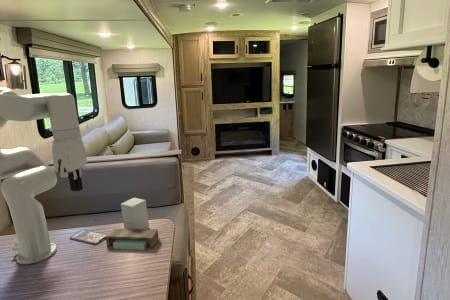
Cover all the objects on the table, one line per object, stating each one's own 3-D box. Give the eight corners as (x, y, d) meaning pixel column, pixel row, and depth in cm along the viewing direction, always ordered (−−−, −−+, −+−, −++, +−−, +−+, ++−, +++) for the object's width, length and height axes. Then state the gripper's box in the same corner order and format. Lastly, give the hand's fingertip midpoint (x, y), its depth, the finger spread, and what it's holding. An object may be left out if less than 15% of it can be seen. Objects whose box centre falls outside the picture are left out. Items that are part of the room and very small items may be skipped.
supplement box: (149, 227, 125) (146, 199, 122) (136, 235, 119) (132, 206, 116) (137, 223, 129) (134, 196, 126) (124, 231, 122) (119, 203, 120)
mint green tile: (113, 248, 110) (112, 242, 109) (121, 240, 116) (120, 234, 115) (144, 249, 108) (143, 244, 108) (150, 241, 114) (149, 235, 113)
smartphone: (83, 231, 126) (110, 236, 120) (68, 239, 119) (96, 246, 113) (83, 229, 126) (110, 234, 120) (68, 237, 119) (96, 243, 113)
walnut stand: (107, 246, 112) (105, 236, 111) (114, 237, 118) (113, 228, 117) (152, 247, 109) (151, 237, 108) (158, 239, 115) (157, 229, 114)
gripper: (71, 130, 99) (80, 182, 103) (37, 139, 84) (50, 199, 89) (92, 129, 97) (100, 182, 102) (61, 139, 83) (72, 199, 87)
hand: (77, 190), depth 95 cm, fingers closed
